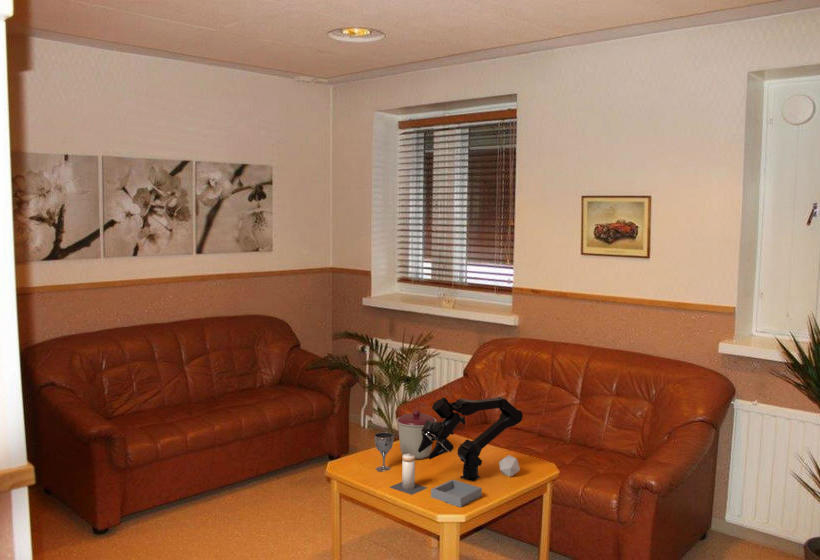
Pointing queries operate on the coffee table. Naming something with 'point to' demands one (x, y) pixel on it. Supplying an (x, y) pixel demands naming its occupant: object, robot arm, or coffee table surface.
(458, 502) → the bin
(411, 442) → the canister
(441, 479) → the coffee table surface
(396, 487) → the mat
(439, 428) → the robot arm
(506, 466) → the die
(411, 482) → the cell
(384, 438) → the wine glass
